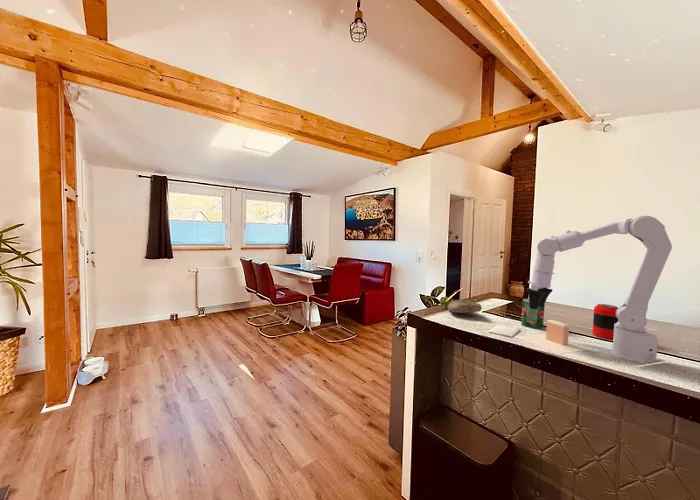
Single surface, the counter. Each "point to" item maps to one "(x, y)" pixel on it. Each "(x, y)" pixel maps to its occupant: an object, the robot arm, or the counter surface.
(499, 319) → the counter surface
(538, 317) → the canned tomato
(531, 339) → the felt mat
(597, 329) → the soda can
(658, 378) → the counter surface
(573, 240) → the robot arm
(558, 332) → the terracotta tile
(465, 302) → the brown rock
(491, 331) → the hard drive
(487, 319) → the counter surface
